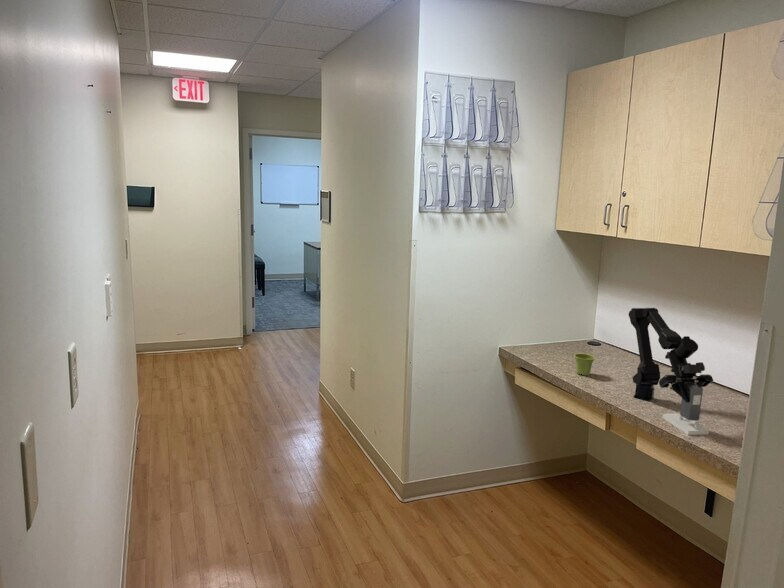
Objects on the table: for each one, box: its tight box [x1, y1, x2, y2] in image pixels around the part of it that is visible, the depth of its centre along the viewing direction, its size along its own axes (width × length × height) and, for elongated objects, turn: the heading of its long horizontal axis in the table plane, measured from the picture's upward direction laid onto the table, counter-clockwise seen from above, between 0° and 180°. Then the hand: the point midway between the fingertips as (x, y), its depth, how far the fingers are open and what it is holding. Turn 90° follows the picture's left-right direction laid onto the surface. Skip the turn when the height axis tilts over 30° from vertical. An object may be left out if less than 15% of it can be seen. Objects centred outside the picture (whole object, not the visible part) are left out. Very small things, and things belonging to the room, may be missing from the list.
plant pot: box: [573, 353, 596, 376], centre depth 275 cm, size 9×9×9 cm
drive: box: [679, 383, 704, 421], centre depth 214 cm, size 6×4×12 cm
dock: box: [662, 412, 710, 436], centre depth 217 cm, size 16×8×4 cm, turn 7°
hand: (693, 402), depth 212 cm, fingers closed on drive, 4 cm apart
